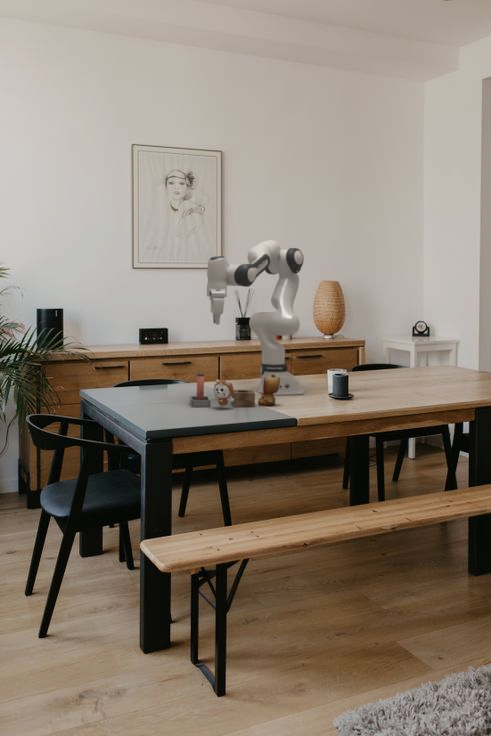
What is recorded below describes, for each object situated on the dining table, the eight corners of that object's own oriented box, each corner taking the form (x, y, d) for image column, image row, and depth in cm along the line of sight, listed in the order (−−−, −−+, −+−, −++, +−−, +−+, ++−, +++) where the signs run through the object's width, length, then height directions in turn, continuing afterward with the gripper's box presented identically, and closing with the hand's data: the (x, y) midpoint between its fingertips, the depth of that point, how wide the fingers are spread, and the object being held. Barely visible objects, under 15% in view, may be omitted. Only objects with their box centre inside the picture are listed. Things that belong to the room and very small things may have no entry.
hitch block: (251, 403, 304) (251, 389, 304) (254, 406, 295) (255, 393, 295) (231, 403, 303) (231, 389, 302) (233, 407, 294) (234, 393, 293)
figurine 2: (255, 402, 306) (264, 370, 305) (272, 406, 307) (280, 374, 306) (258, 406, 296) (267, 373, 295) (274, 410, 297) (284, 377, 296)
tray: (208, 402, 304) (208, 396, 303) (210, 407, 293) (210, 400, 292) (189, 402, 302) (189, 396, 302) (191, 407, 292) (191, 400, 291)
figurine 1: (207, 409, 288) (208, 380, 287) (217, 405, 296) (217, 378, 295) (227, 411, 284) (228, 382, 283) (236, 407, 292) (237, 379, 291)
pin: (203, 402, 299) (203, 373, 298) (203, 404, 296) (204, 374, 295) (196, 402, 299) (196, 373, 297) (196, 404, 296) (197, 373, 294)
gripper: (207, 292, 318) (207, 322, 319) (211, 292, 298) (211, 325, 299) (221, 292, 319) (220, 322, 320) (226, 293, 298) (225, 325, 300)
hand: (216, 323), depth 309 cm, fingers open, 8 cm apart
